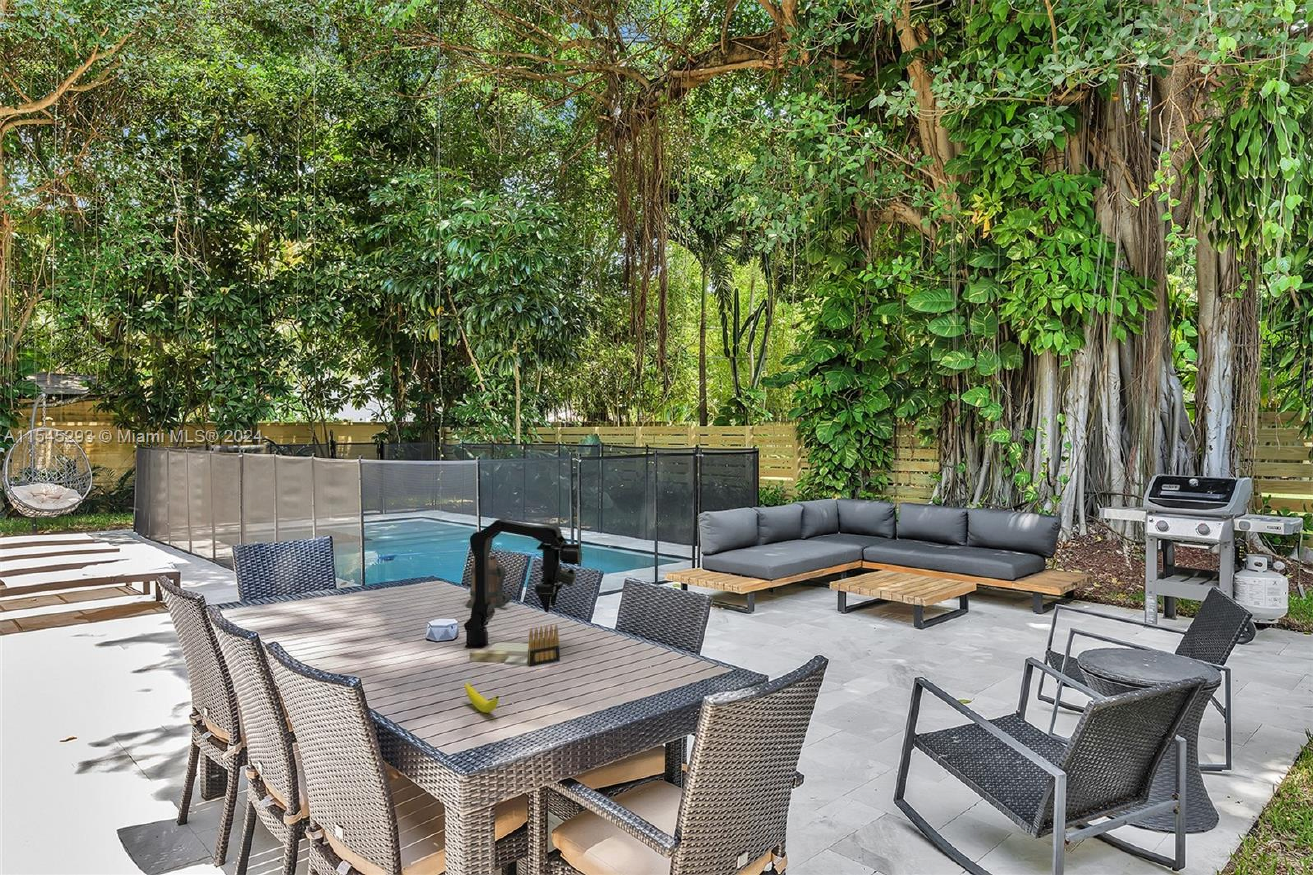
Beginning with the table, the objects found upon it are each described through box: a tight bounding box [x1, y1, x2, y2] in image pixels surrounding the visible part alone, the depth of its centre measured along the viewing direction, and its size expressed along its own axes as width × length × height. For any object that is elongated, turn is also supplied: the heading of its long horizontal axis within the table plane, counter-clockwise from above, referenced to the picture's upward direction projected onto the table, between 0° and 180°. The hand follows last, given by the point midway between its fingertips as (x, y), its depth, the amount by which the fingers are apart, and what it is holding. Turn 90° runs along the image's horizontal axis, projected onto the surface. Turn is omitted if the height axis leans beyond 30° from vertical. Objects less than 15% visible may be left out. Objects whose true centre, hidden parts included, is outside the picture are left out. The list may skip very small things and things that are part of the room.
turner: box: [469, 649, 528, 666], centre depth 247 cm, size 19×6×3 cm, turn 84°
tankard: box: [465, 555, 511, 610], centre depth 323 cm, size 24×17×20 cm
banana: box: [464, 682, 500, 714], centre depth 205 cm, size 3×19×6 cm, turn 39°
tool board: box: [487, 642, 529, 656], centre depth 259 cm, size 22×9×1 cm, turn 84°
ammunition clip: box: [526, 623, 561, 668], centre depth 246 cm, size 11×2×12 cm, turn 124°
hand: (550, 608), depth 260 cm, fingers open, 9 cm apart
